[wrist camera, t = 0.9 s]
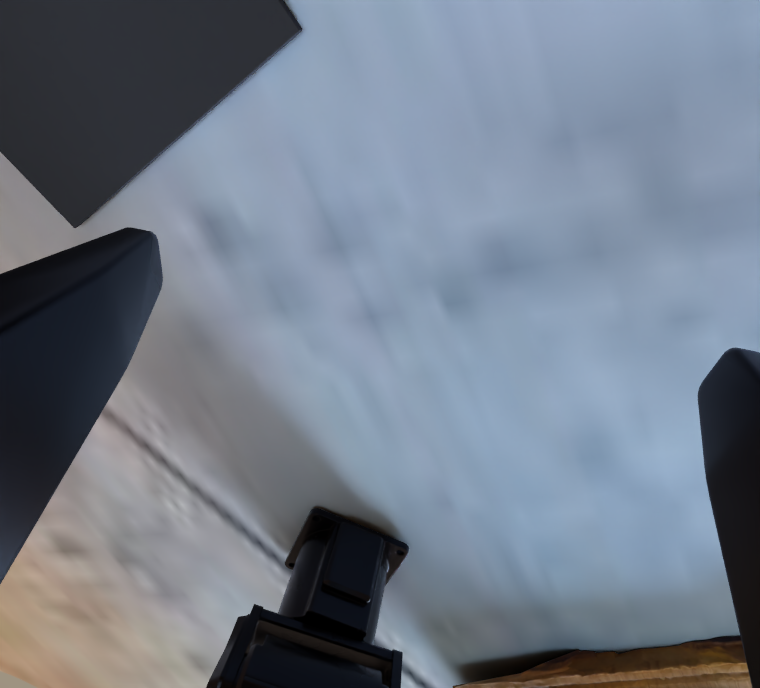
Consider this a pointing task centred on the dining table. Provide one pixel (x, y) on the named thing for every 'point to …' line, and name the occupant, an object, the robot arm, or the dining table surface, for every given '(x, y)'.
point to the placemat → (119, 84)
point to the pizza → (638, 668)
